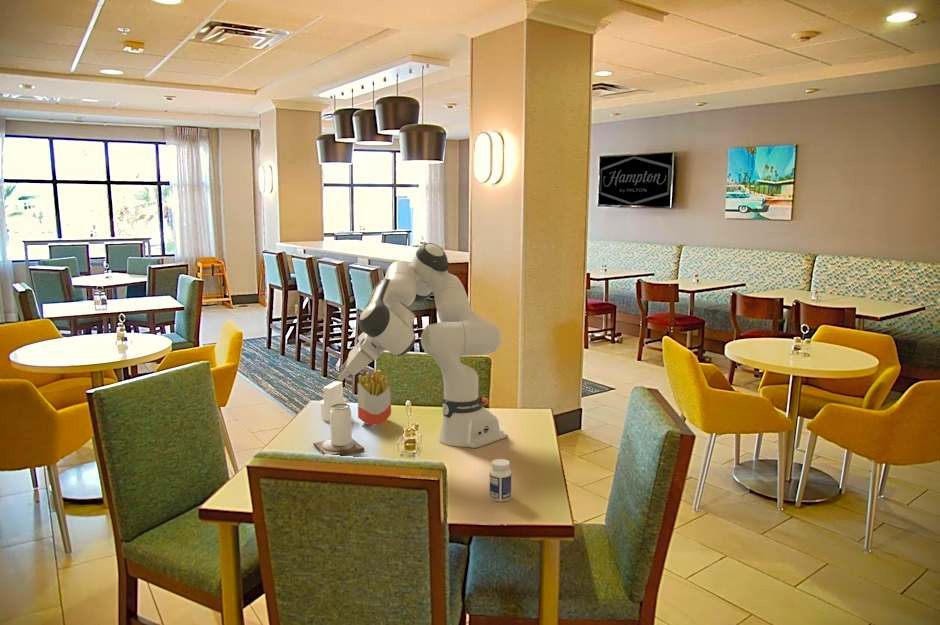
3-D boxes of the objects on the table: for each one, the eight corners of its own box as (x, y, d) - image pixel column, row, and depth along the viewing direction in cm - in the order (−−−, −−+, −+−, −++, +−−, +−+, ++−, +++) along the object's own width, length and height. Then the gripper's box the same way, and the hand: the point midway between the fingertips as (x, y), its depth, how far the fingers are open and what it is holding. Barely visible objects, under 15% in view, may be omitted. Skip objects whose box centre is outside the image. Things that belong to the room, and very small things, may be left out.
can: (348, 447, 209) (347, 409, 207) (328, 446, 210) (327, 409, 208) (354, 439, 216) (353, 403, 214) (334, 439, 216) (333, 402, 214)
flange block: (348, 439, 221) (348, 434, 221) (364, 450, 211) (364, 445, 211) (313, 446, 214) (313, 441, 214) (327, 458, 205) (327, 453, 204)
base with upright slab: (329, 412, 248) (328, 380, 246) (351, 414, 245) (350, 382, 243) (316, 419, 239) (315, 386, 237) (338, 422, 236) (338, 389, 234)
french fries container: (391, 421, 238) (391, 371, 235) (365, 427, 231) (364, 376, 228) (384, 417, 242) (383, 368, 239) (358, 424, 235) (357, 374, 232)
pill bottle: (510, 492, 183) (510, 457, 181) (512, 502, 177) (512, 466, 175) (488, 493, 182) (489, 457, 181) (490, 502, 177) (490, 466, 175)
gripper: (365, 329, 221) (335, 359, 222) (363, 344, 201) (330, 376, 202) (379, 342, 222) (349, 372, 223) (378, 358, 202) (346, 391, 203)
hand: (340, 374), depth 212 cm, fingers open, 8 cm apart
